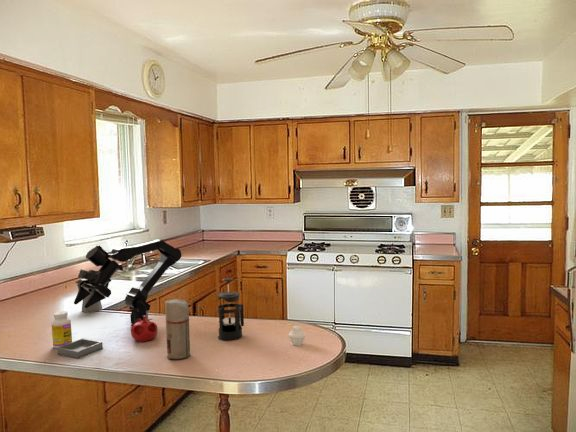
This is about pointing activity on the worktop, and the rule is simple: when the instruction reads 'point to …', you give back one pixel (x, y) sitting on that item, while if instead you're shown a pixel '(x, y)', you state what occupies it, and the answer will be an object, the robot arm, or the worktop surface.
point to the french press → (232, 324)
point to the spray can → (177, 329)
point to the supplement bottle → (61, 329)
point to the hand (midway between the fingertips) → (79, 305)
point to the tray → (80, 348)
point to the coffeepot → (95, 306)
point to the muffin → (297, 336)
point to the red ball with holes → (144, 330)
